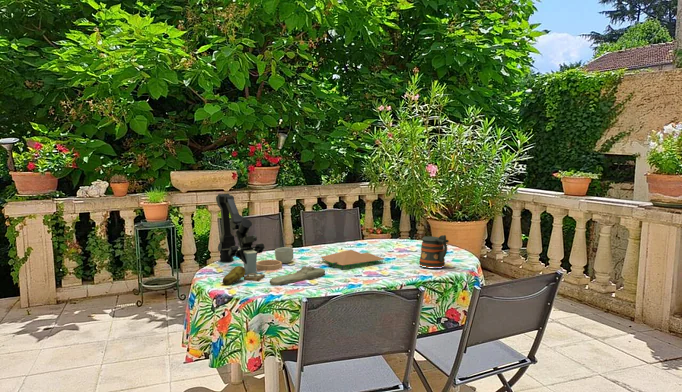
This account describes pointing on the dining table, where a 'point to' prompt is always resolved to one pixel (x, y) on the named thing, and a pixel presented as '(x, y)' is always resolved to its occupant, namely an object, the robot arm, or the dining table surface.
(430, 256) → the beer stein
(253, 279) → the parts tray
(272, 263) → the tan polygonal ring
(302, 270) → the long grey stone
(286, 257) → the teacup
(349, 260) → the brown flat block
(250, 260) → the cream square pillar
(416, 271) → the dining table surface
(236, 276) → the potato
